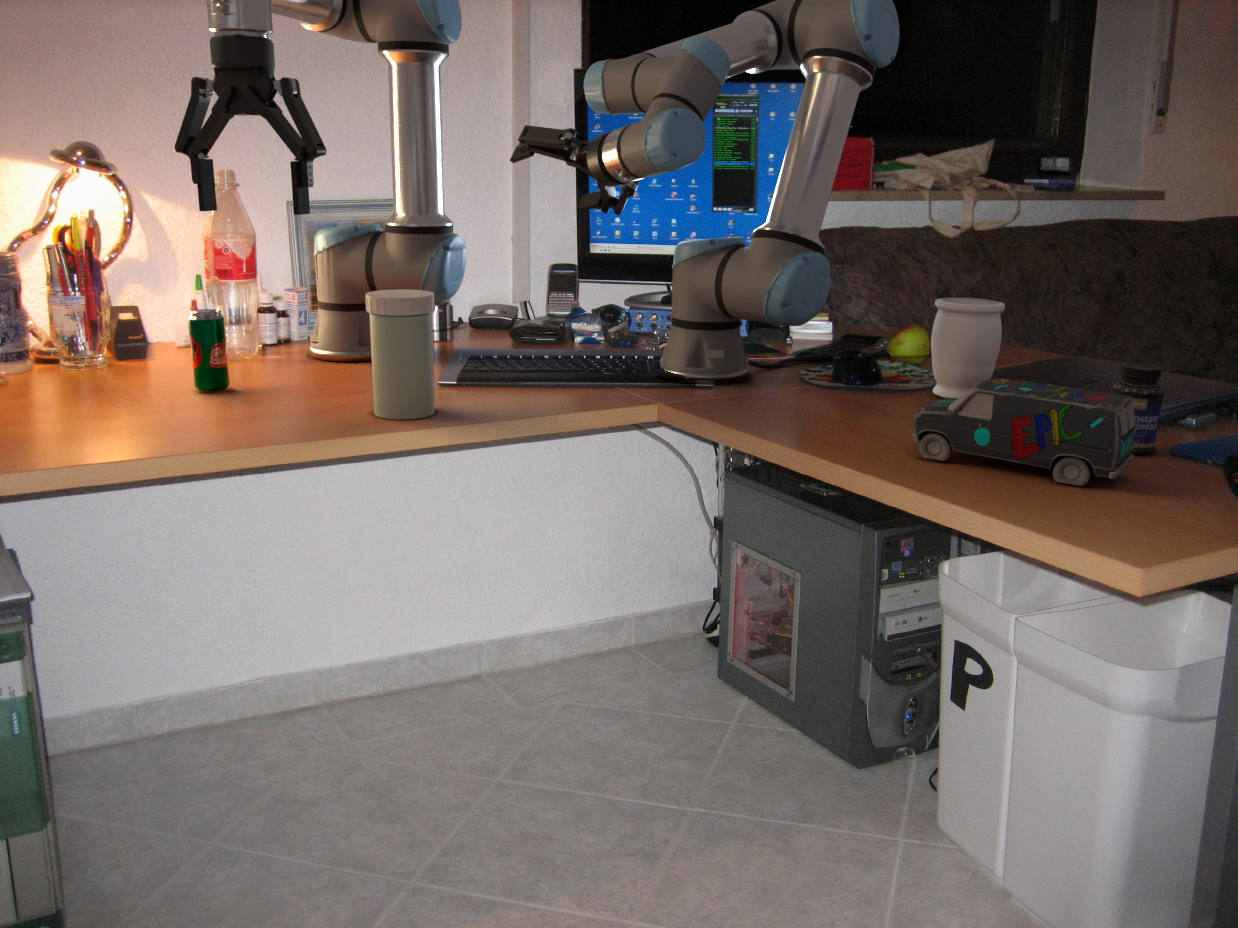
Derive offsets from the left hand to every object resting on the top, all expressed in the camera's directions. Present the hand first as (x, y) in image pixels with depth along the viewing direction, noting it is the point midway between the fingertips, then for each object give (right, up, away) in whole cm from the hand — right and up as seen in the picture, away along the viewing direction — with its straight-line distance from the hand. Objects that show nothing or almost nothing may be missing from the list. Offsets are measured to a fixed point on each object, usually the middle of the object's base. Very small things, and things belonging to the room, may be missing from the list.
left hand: (254, 213), depth 138 cm
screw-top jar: (+16, -25, +15) cm, 34 cm away
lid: (+17, -9, +10) cm, 22 cm away
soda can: (-16, -21, +26) cm, 37 cm away
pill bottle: (+114, -31, +3) cm, 118 cm away
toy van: (+97, -33, -5) cm, 102 cm away
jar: (+101, -22, +32) cm, 109 cm away
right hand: (+36, +13, +31) cm, 49 cm away
